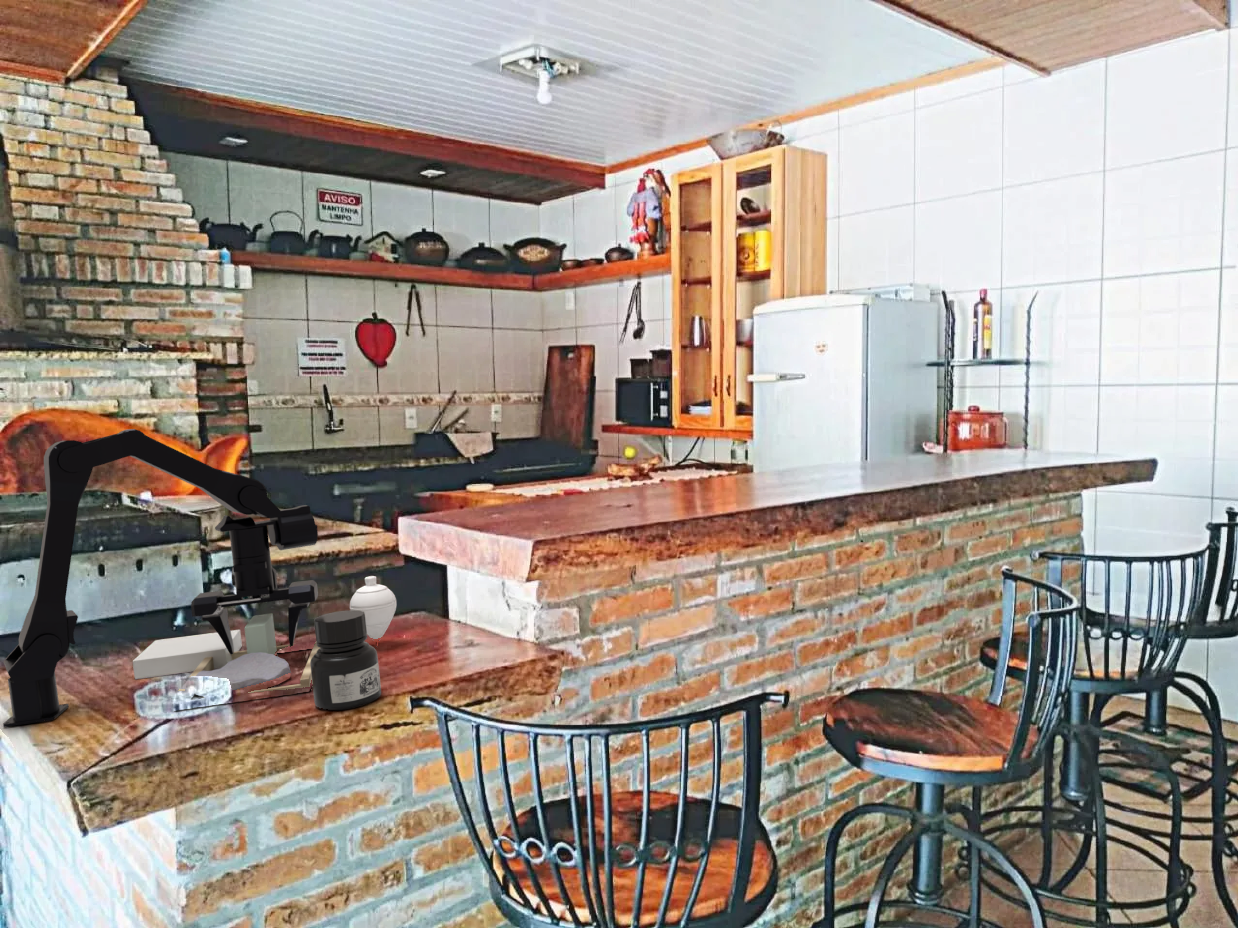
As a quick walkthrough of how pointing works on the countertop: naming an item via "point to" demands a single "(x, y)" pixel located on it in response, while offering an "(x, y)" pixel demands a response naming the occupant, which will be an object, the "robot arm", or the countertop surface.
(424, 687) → the countertop surface
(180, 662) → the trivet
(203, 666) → the rack
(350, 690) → the ink bottle
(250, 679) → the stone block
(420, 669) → the countertop surface
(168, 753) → the countertop surface
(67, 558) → the robot arm
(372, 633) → the spinning top
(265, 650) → the rectangular block
